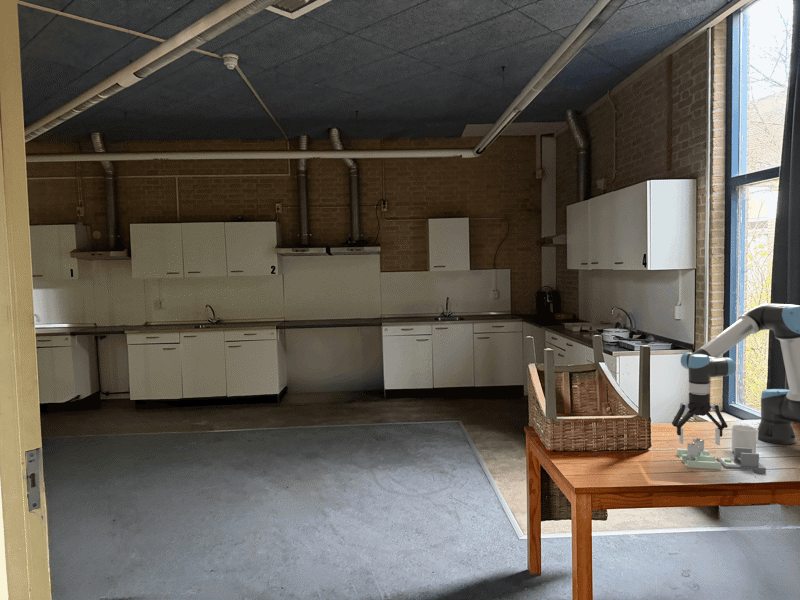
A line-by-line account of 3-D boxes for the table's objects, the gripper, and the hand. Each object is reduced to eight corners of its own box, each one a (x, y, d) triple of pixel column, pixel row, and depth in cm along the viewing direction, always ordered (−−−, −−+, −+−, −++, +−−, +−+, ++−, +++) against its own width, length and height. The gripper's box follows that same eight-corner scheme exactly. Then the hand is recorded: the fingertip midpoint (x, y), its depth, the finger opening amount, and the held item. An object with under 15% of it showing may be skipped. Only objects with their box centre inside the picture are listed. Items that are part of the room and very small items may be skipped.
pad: (750, 458, 216) (750, 456, 216) (755, 462, 212) (755, 460, 212) (737, 457, 217) (737, 456, 217) (741, 462, 213) (741, 460, 213)
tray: (708, 458, 225) (708, 450, 225) (721, 472, 211) (721, 463, 211) (677, 457, 228) (677, 448, 228) (687, 470, 214) (687, 461, 213)
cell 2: (702, 457, 224) (702, 437, 223) (704, 460, 220) (705, 440, 220) (691, 456, 225) (691, 436, 225) (693, 460, 221) (694, 439, 221)
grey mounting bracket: (754, 464, 219) (755, 447, 218) (765, 473, 209) (766, 455, 208) (716, 462, 222) (716, 445, 221) (725, 471, 212) (725, 453, 212)
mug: (745, 458, 226) (745, 431, 225) (726, 451, 234) (726, 426, 233) (766, 454, 229) (767, 428, 229) (747, 448, 238) (747, 423, 237)
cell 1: (696, 462, 218) (696, 441, 218) (699, 466, 214) (700, 444, 214) (685, 462, 219) (686, 441, 219) (688, 465, 215) (689, 444, 215)
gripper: (729, 391, 222) (729, 441, 223) (663, 390, 227) (664, 439, 229) (736, 395, 215) (736, 447, 216) (668, 394, 220) (668, 445, 222)
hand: (699, 443), depth 222 cm, fingers open, 13 cm apart
